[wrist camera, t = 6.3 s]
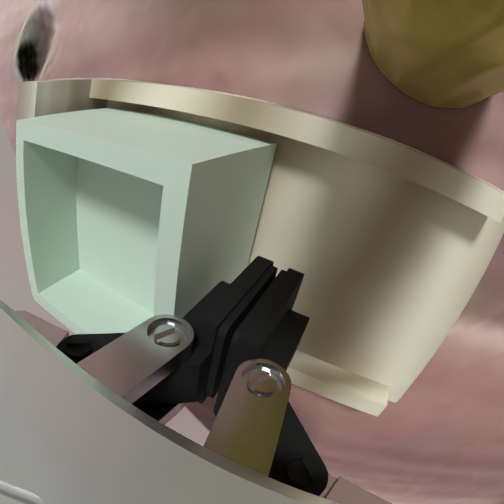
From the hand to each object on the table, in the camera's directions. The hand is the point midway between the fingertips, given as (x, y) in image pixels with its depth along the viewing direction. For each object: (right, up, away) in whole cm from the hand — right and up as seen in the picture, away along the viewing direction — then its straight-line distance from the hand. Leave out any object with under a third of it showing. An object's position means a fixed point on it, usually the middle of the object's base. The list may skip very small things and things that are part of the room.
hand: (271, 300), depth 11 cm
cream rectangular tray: (-1, +3, +5) cm, 6 cm away
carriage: (-5, +4, +4) cm, 7 cm away
